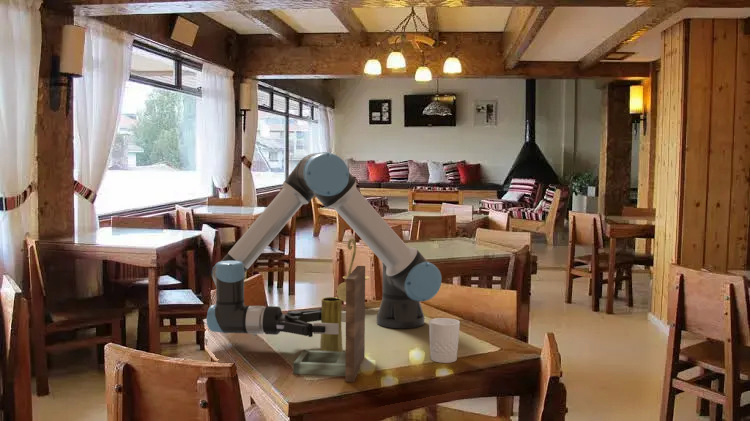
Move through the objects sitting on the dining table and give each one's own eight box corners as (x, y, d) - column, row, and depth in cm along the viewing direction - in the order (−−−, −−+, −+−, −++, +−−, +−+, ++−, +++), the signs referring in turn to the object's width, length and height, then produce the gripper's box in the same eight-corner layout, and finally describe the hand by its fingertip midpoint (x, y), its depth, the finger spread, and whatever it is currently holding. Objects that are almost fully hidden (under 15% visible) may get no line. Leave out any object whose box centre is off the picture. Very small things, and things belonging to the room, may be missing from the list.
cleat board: (289, 379, 151) (289, 277, 149) (307, 354, 170) (307, 264, 169) (354, 382, 149) (354, 278, 147) (364, 357, 169) (365, 266, 167)
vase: (346, 349, 176) (346, 297, 175) (337, 355, 170) (337, 302, 169) (325, 347, 178) (325, 296, 177) (316, 353, 172) (316, 300, 171)
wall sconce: (358, 313, 220) (358, 240, 218) (332, 310, 223) (333, 238, 222) (373, 305, 233) (373, 236, 231) (348, 303, 236) (349, 235, 235)
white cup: (426, 355, 171) (426, 317, 171) (455, 354, 172) (456, 317, 171) (431, 364, 163) (431, 325, 163) (462, 363, 164) (462, 324, 163)
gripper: (276, 322, 188) (349, 325, 186) (251, 346, 163) (334, 349, 161) (276, 297, 187) (349, 299, 185) (251, 316, 163) (334, 319, 160)
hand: (342, 322), depth 173 cm, fingers open, 13 cm apart
